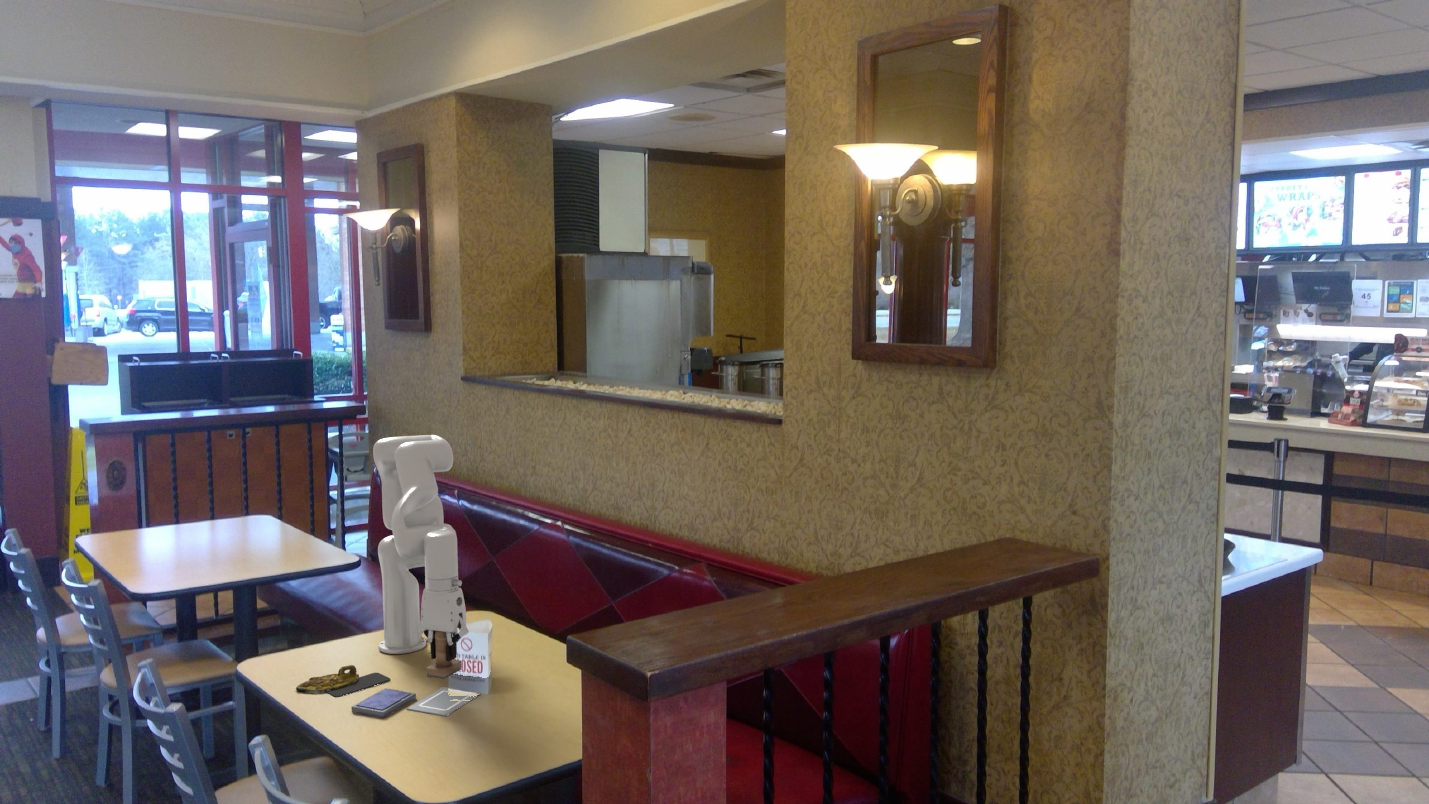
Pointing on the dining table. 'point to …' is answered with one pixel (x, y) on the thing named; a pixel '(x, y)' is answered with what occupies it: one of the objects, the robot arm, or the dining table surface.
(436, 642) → the stamp
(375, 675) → the phone
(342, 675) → the brass ornament
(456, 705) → the stamp card
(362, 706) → the ink pad
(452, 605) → the robot arm
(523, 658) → the dining table surface
